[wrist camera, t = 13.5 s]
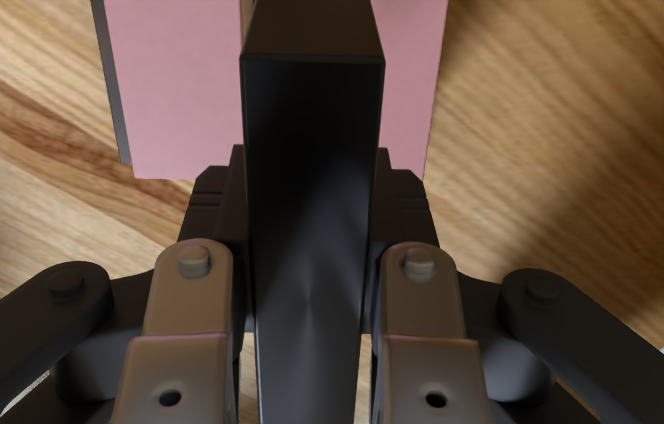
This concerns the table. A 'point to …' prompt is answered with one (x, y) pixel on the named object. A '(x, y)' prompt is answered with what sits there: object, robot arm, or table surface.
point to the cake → (179, 81)
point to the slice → (409, 76)
